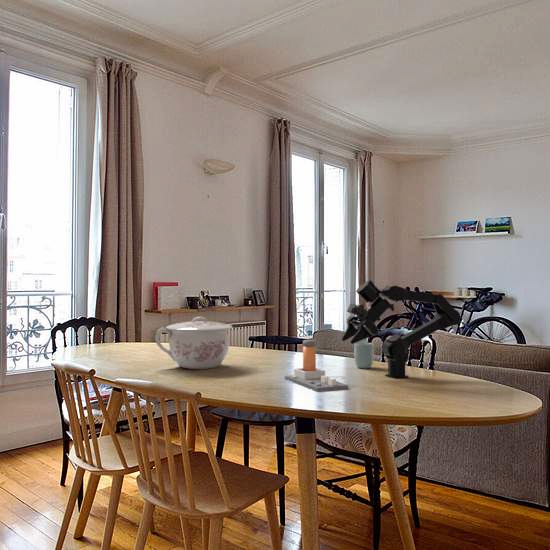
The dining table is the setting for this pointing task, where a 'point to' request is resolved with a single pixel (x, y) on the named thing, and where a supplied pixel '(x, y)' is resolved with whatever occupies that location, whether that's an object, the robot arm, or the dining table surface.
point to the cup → (363, 354)
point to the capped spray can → (309, 355)
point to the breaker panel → (315, 380)
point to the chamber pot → (196, 343)
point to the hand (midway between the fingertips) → (346, 341)
